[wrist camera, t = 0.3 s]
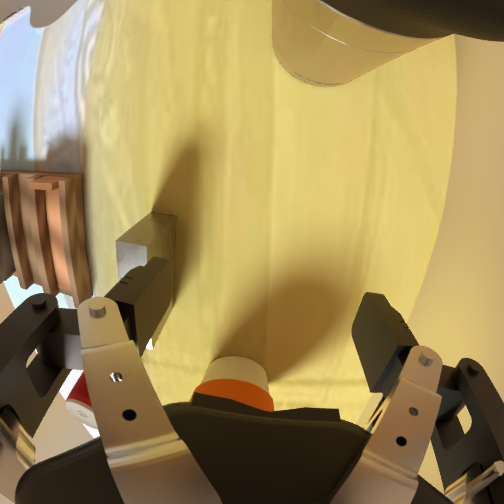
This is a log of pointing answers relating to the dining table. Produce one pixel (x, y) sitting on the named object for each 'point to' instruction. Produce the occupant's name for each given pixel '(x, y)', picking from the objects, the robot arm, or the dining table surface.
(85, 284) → the rack
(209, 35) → the dining table surface
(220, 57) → the dining table surface
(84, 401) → the canned food
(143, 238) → the panel
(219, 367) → the reusable coffee cup
